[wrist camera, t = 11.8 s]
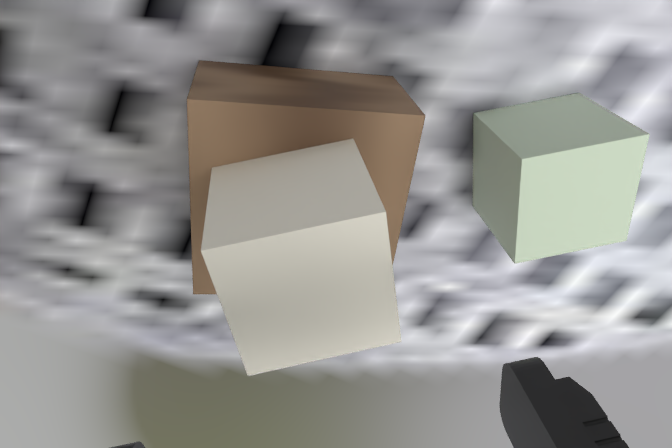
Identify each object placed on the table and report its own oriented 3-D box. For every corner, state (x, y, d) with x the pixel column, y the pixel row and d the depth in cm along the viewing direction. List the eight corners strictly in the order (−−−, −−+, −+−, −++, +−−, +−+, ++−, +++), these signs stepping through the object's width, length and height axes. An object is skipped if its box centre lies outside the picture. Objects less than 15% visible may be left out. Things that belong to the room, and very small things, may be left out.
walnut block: (202, 227, 24) (193, 294, 20) (199, 58, 20) (186, 99, 16) (364, 231, 26) (386, 294, 22) (391, 74, 22) (425, 115, 18)
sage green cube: (471, 204, 26) (514, 263, 22) (472, 112, 23) (522, 159, 19) (565, 186, 26) (626, 240, 22) (577, 92, 23) (649, 134, 19)
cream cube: (248, 278, 20) (247, 375, 16) (212, 167, 18) (200, 250, 13) (370, 251, 20) (401, 341, 16) (353, 138, 18) (385, 211, 14)
